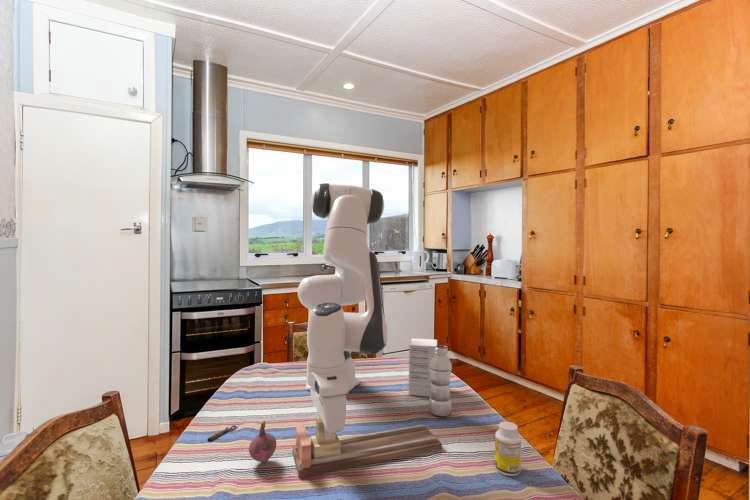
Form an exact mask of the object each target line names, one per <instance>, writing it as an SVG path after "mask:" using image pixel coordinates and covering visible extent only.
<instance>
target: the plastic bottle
mask: <svg viewBox="0 0 750 500" xmlns="http://www.w3.org/2000/svg"><path fill="white" fill-rule="evenodd" d="M448 350H449V349H448V347H447V346H446V345H437V346H435V351H434V353H435V355H434V357H433V358H432V359H431V361H430V363H429V367H430V375H431V393H430V397H429V398H428V399H429V401H428V409H429V411H430V413H431V414H432V415H433V416H436V417H437V416H438V417H446V416H449V414H450V413H451V412H452V400H451V390H450V384H451V375H452V368H453V367H452V366H453V364H452V362H451V360H450V358H449V357H448V353H449V352H448Z"/></svg>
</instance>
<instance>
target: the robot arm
mask: <svg viewBox="0 0 750 500" xmlns="http://www.w3.org/2000/svg"><path fill="white" fill-rule="evenodd" d="M310 196H311V197H310V205H311V209H312V213H313V214H314V215H315V216H316V217H318V218H320V219H327V223H326V226H325V227H326V228H325V233H324V240H323V242H324V243H323V250H322V255H323V259H324V260H325V262H326V263H327V264H329V265H331V266H333V267H335V269H334V270H335V271H334V274H321V275H320V274H317V275H311V276H308V277H305V278H303V279H302V280H301V281H300V283H299V284H298V287H297V298H298V300H299V302H300V303H301V304H302V306H304V307H305V308H306V309H308V310H309V316H308V321H307V329H306V330H307V331H306V333H307V335H306V345H307V346H306V347H307V349H308V356H307V359H306V386H305V387H306V388H305V389H306V390H307V391H310V398H311V400H312V403H313V405H314V407H315V409H316V412H317V417H318V416H320V418H321V420H322V422H323V424H324V429H323V435H324V438H325V439H331V438H332V433H335V432H336V433H339V432H343V431H344V429H345V427H346V426H345V425H346V418H347V417H346V416H347V396H346V394H349V392H350V391H351V390H353V389H354V387H356V386H358V385H359V384H360V382H361V381H360V380H359V379H358V378H356V377H357V376H356V361H355V360H354V359H353V358H352V352H353V353H360V354H365V355H372V356H375V355H377V354H378V353H380V352H381V351H382V350H383V349H384V348H385V347H386V346H387V343H388V338H389V337H388V336H389V329H388V325H387V322H386V317H385V310H384V299H383V290H382V289H383V288H382V281H381V280H382V279H381V274H380V273H381V272H380V266H379V262H378V258H377V255H376V253H374V252H373V251H372V250H370V247H369V245H368V239H367V236H368V225H369V224H370V225H371V224H375V223H377V222H378V221H380V220H381V217H382V216H383V213H384V210H385V200H384V196H383V194H382V192H380V191H378V190H376V189H373V188H370V189H369V188H365V187H363V186H362V187H361V186H358V185H351V184H350V185H346V184H330V183H319V184H317V186H315V189H314V190H313V191H312V194H311V195H310ZM365 301H366V311H365V312H350V311H349V312H348V311H347V312H345V311H344V309H343V306H352V305H357V304H360V303H361V302H362V303H363V302H365Z"/></svg>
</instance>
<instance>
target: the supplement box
mask: <svg viewBox="0 0 750 500" xmlns="http://www.w3.org/2000/svg"><path fill="white" fill-rule="evenodd" d="M435 346H438V339H430V338H414V337H413V338H411V341H410V344H409V345H408V347H409V349H408V351H409V352H408V353H409V354H408V395H409V396H417V397H418V396H419V397H428V398H430V393H431V375H430V367H429V363H430V361H431V359H432V358H433V357H434V355H435V353H434V351H435Z"/></svg>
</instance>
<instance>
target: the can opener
mask: <svg viewBox="0 0 750 500" xmlns="http://www.w3.org/2000/svg"><path fill="white" fill-rule="evenodd" d="M238 428H239V426H236V424H233V425H231V426H230V427H229V426H227V427H225V429H223V430H221V431H220V432H217V433H215V434H213V435H210V436H209V437H208V438H207V441H208V442H212V441H214V440H216V439H218V438H220V437H221V436H222V435H225V434H226V433H228V432H233V431H236V430H237V429H238Z"/></svg>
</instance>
